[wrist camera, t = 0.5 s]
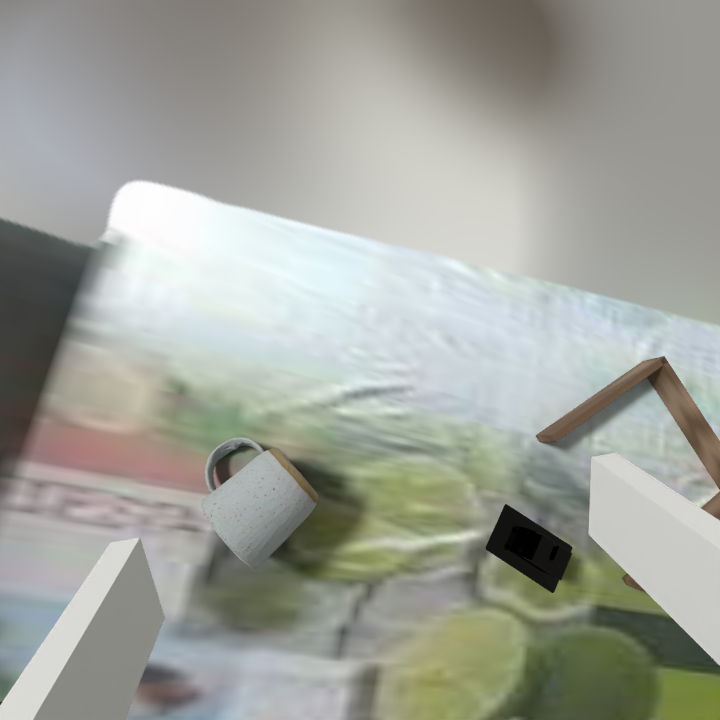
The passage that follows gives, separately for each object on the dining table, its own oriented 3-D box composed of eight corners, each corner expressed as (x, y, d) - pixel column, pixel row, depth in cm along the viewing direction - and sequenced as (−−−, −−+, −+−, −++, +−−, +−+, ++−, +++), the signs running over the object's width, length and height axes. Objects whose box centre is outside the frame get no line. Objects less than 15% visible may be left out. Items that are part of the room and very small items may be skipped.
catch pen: (728, 493, 51) (755, 495, 48) (626, 584, 46) (649, 593, 43) (643, 361, 52) (664, 356, 50) (535, 435, 47) (552, 434, 45)
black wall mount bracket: (582, 546, 47) (614, 557, 42) (557, 609, 45) (588, 627, 40) (493, 488, 46) (517, 492, 41) (464, 548, 44) (485, 560, 39)
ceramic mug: (321, 495, 42) (328, 504, 34) (259, 558, 39) (252, 582, 32) (251, 419, 42) (244, 412, 35) (186, 477, 40) (163, 482, 33)
